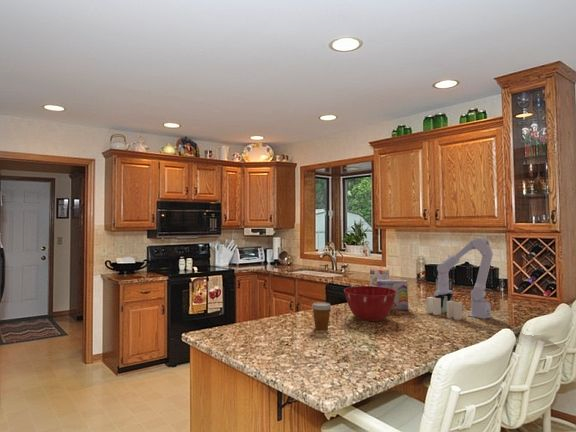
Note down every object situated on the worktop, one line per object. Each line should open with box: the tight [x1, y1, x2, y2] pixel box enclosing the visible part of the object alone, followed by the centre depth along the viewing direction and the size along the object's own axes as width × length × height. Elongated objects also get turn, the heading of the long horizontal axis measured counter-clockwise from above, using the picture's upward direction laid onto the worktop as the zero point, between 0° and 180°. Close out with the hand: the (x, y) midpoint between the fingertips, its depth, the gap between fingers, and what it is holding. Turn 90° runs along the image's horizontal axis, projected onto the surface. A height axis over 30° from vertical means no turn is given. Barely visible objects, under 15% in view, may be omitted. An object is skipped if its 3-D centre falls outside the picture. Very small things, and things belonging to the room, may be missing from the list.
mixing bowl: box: [343, 285, 397, 322], centre depth 220 cm, size 28×28×16 cm
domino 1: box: [425, 296, 435, 315], centre depth 233 cm, size 2×5×9 cm, turn 123°
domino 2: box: [432, 297, 442, 316], centre depth 229 cm, size 2×5×9 cm, turn 123°
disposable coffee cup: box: [311, 301, 332, 331], centre depth 199 cm, size 10×10×12 cm
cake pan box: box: [377, 279, 409, 311], centre depth 243 cm, size 19×5×18 cm, turn 76°
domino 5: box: [453, 301, 463, 321], centre depth 217 cm, size 2×5×9 cm, turn 123°
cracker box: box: [369, 267, 390, 287], centre depth 273 cm, size 14×6×21 cm, turn 25°
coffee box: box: [435, 277, 454, 301], centre depth 258 cm, size 9×6×16 cm
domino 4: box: [446, 299, 456, 319], centre depth 221 cm, size 2×5×9 cm, turn 122°
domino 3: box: [441, 296, 447, 314], centre depth 235 cm, size 2×5×9 cm, turn 123°
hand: (443, 306), depth 235 cm, fingers closed on domino 3, 5 cm apart
